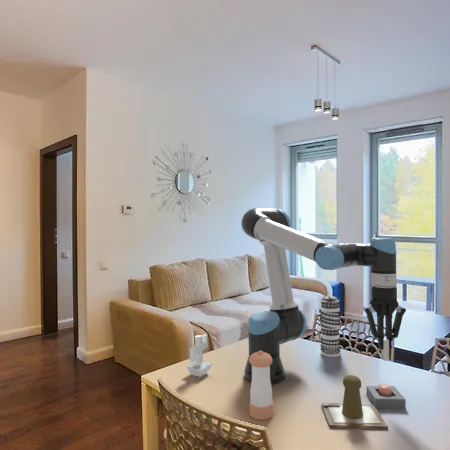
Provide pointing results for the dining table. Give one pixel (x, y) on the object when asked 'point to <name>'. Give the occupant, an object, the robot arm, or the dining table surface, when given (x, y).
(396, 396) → the button housing
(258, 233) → the robot arm
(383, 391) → the button
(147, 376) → the dining table surface
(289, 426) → the dining table surface
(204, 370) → the figurine
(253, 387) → the pepper shaker
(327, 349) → the decorative candle
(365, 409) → the clipboard
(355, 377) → the pepper shaker
